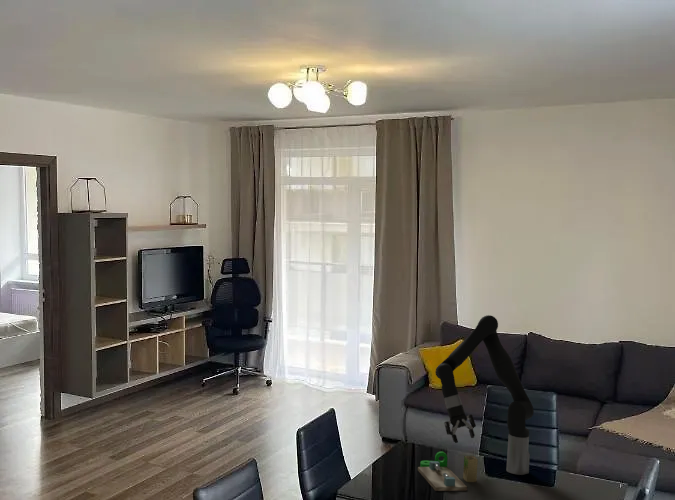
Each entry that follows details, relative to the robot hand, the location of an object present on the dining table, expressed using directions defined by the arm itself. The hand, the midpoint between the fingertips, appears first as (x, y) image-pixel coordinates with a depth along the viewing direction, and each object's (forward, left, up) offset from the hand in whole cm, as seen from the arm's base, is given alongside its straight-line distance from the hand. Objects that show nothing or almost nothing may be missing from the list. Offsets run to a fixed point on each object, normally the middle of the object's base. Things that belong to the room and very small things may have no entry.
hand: (464, 440), depth 314 cm
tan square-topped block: (+2, +14, -13) cm, 19 cm away
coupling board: (+15, +13, -13) cm, 24 cm away
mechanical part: (+13, -3, -14) cm, 20 cm away
